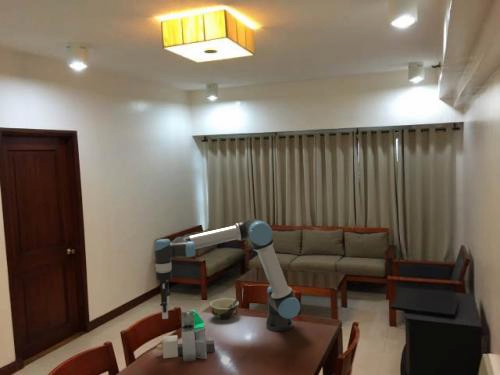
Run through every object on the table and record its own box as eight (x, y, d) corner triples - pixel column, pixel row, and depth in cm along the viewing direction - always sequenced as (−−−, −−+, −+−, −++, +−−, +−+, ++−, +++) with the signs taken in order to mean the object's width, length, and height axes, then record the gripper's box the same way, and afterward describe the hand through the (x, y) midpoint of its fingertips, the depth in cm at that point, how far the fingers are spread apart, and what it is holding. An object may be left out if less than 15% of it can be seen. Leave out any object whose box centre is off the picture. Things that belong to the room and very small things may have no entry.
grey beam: (214, 346, 215) (213, 331, 215) (214, 352, 208) (213, 336, 208) (158, 352, 212) (157, 337, 211) (157, 359, 205) (156, 342, 204)
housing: (205, 342, 221) (203, 304, 219) (207, 359, 202) (204, 317, 201) (184, 345, 219) (181, 306, 218) (183, 361, 200) (180, 319, 199)
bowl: (207, 323, 248) (206, 307, 248) (214, 312, 266) (213, 297, 265) (236, 323, 245) (235, 307, 245) (242, 312, 263) (241, 297, 262)
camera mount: (182, 333, 235) (181, 315, 234) (183, 328, 242) (182, 310, 242) (204, 331, 236) (203, 313, 236) (204, 326, 244) (203, 308, 243)
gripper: (158, 265, 218) (160, 306, 219) (153, 278, 194) (156, 323, 195) (172, 264, 219) (174, 304, 220) (170, 277, 195) (172, 322, 196)
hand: (166, 313), depth 208 cm, fingers open, 13 cm apart
